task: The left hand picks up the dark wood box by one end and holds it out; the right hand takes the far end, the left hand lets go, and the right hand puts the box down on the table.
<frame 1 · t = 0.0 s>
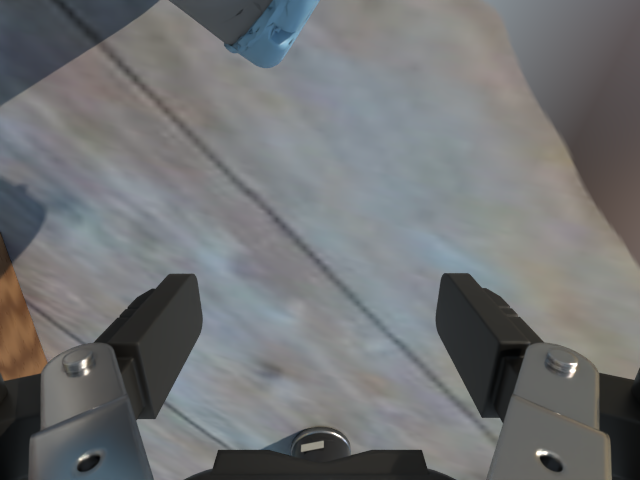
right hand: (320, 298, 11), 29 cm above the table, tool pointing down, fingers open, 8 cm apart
box: (3, 304, 45), on the table
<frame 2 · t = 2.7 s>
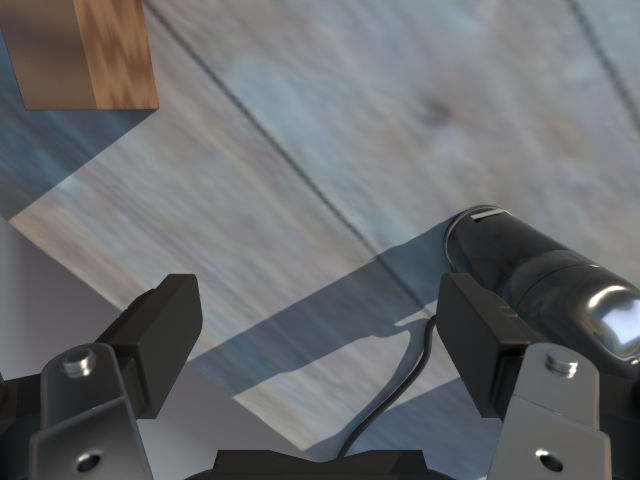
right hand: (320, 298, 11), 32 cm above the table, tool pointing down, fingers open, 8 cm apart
box: (112, 1, 35), on the table, touching left hand
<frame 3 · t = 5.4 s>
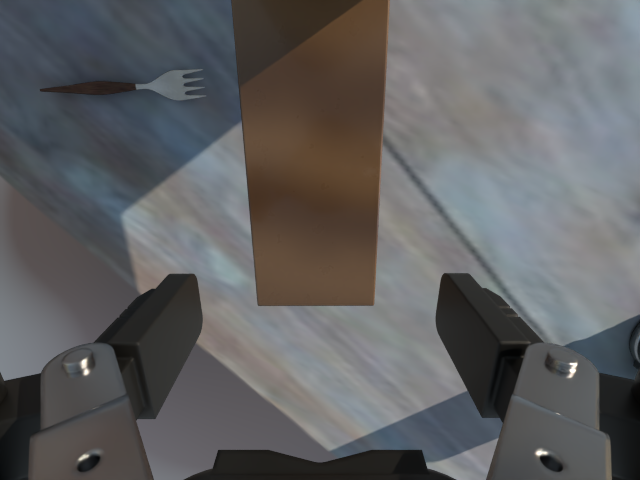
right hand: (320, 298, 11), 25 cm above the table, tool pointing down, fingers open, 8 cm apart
box: (317, 98, 25), point 8 cm above the table, touching left hand
fork: (128, 87, 32), on the table
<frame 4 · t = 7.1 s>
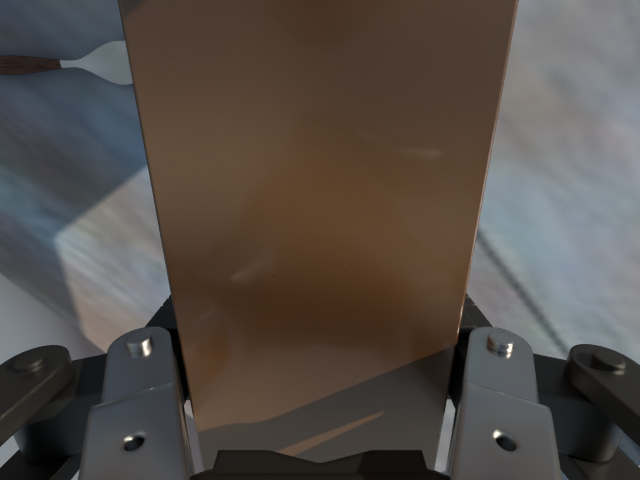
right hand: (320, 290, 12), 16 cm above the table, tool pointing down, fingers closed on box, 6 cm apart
box: (319, 79, 16), point 8 cm above the table, touching right hand, left hand
fork: (52, 65, 23), on the table
when the left hand's fingers open (10 cm above the table, at t = 8.2 s): box stays where it is, held by the right hand.
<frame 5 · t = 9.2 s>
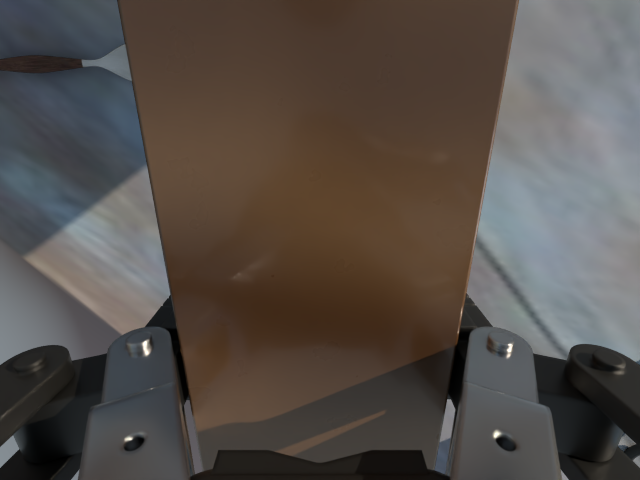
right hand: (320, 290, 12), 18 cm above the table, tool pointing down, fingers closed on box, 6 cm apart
box: (319, 79, 16), point 11 cm above the table, touching right hand
fork: (73, 64, 25), on the table
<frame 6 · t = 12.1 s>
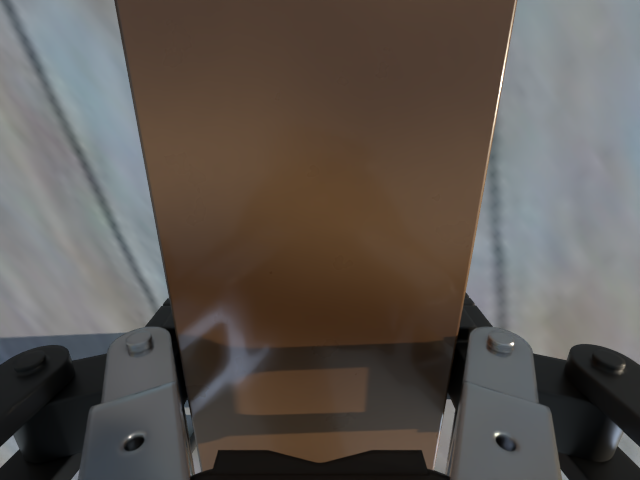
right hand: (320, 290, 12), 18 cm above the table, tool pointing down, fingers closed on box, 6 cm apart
box: (319, 77, 16), point 11 cm above the table, touching right hand
when the right hand's fingers open (8 cm above the table, at t = 17.1 s): box moves 1 cm, on the table.
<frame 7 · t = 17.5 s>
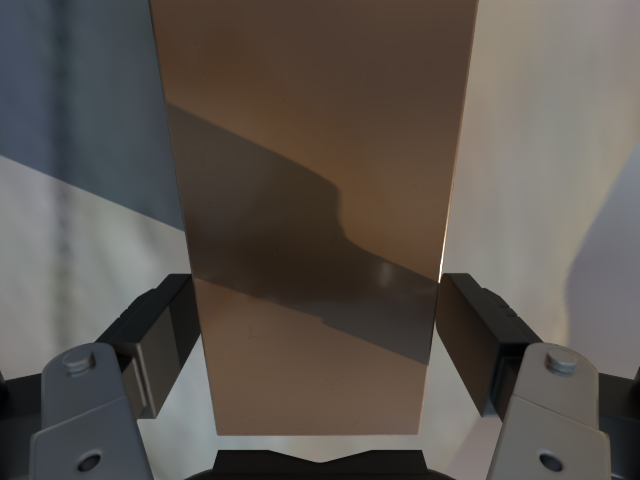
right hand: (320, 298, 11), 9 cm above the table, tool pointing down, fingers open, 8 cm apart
box: (318, 81, 17), on the table
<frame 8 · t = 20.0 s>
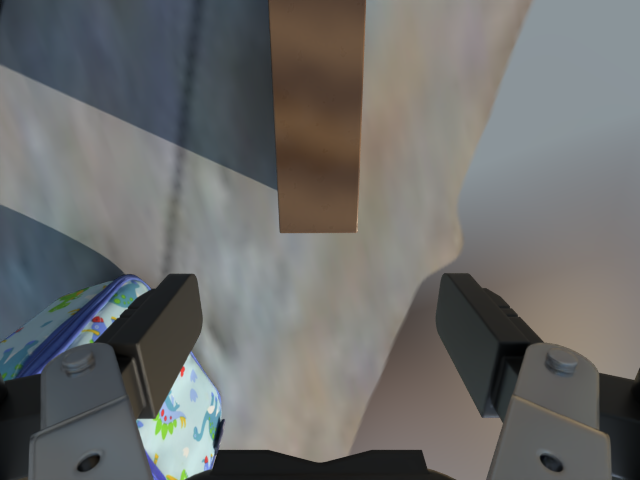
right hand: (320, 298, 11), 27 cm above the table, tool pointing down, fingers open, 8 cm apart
box: (318, 94, 34), on the table
lunch box: (164, 352, 45), on the table
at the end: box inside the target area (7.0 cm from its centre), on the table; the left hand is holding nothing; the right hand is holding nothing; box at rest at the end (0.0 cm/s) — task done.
